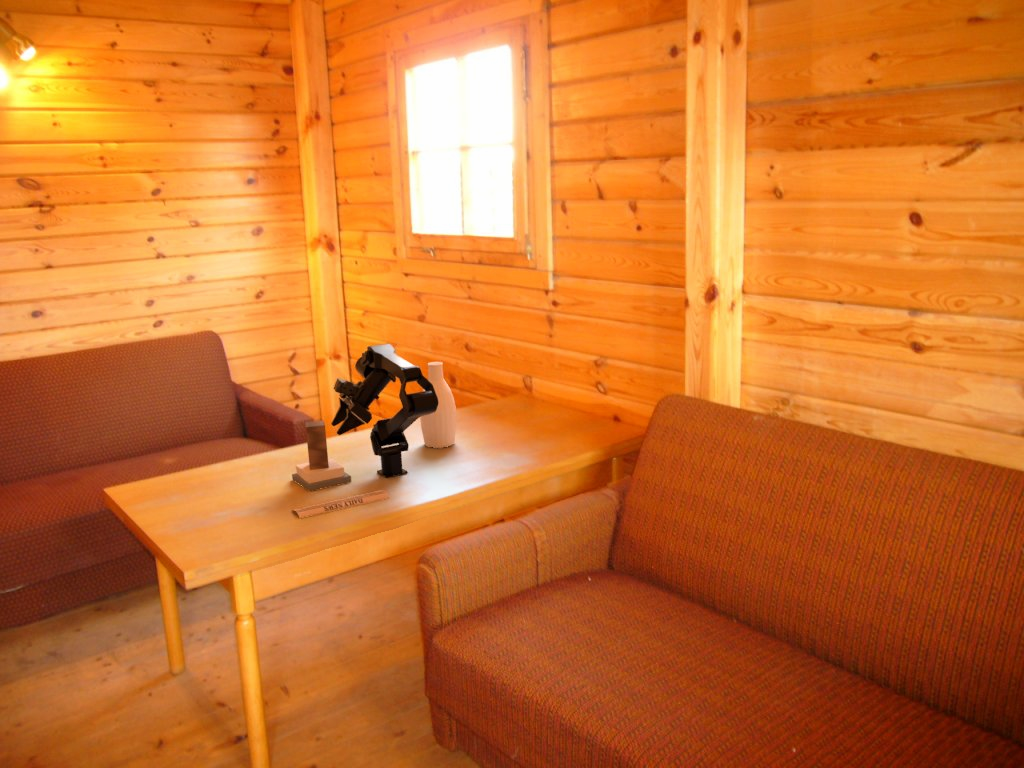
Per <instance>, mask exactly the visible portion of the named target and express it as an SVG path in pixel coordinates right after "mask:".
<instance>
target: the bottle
mask: <svg viewBox="0 0 1024 768" xmlns="http://www.w3.org/2000/svg"><path fill="white" fill-rule="evenodd" d="M443 364H444V363H443V362H442V361H432V362H428V363H427V366H428V369H427V370H428V373H427V374H428V378H427V380H428V381H429V382H430V383H431V384H432V385H433V387H434V390H435V392H436V395H437V398H438V407H437V410H436V411H435V412H434V413H431V414H428V415H424V416H421V417H419V418H420V427H421V433H422V438H423V443H424V445H425V446H426V447H427V446H428V447H427V448H429V447H433V448H432V449H437V448H438V449H444V448H443V447H447V446H450V445H452V444H453V445H454V443H455V441H456V440H455V439H456V433H457V432H456V430H457V407H456V402H455V399H454V398H455V397H454V395H453V392H452V389H451V388H450V386H449V385H448V383H447V382H446V380H445V379H444V368H443ZM423 391H425V390H424V389H423V388H422V392H423ZM453 445H452V446H453ZM450 447H451V446H450ZM447 448H448V447H447Z"/></svg>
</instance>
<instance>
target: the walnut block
mask: <svg viewBox="0 0 1024 768" xmlns="http://www.w3.org/2000/svg"><path fill="white" fill-rule="evenodd" d="M325 422H326V421H325V420H316V421H305V432H306V434H305V435H306V442H307V452H308V453H307V454H308V463H309V466H310V470H315V469H324V468H329V465H328V459H329V456H328V455H329V454H328V445H327V434H326V433H327V432H326V424H325Z"/></svg>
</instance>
